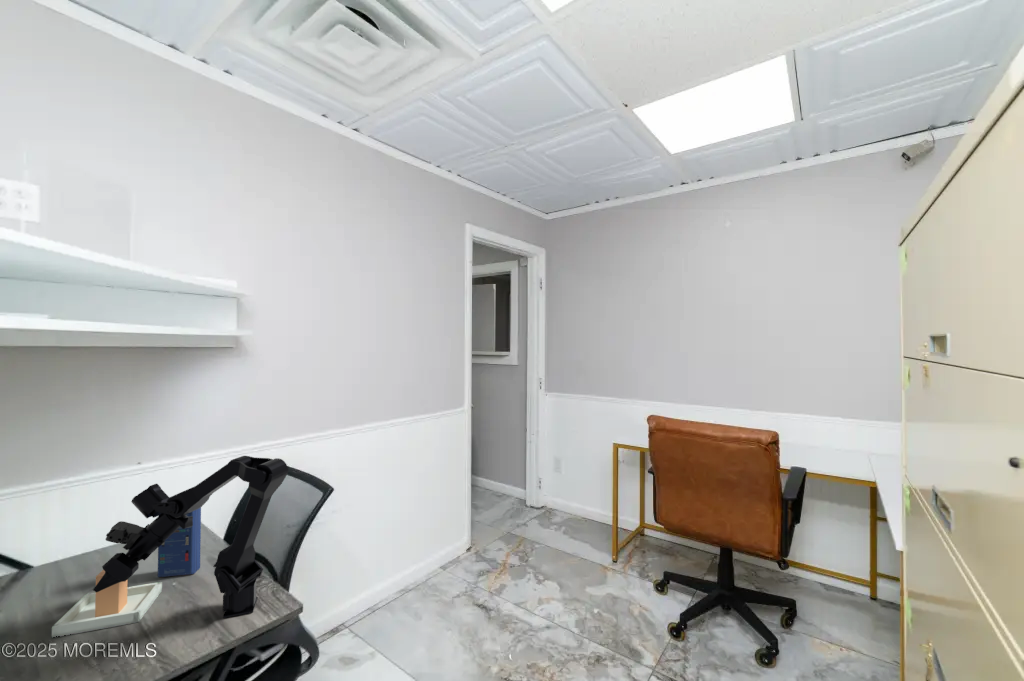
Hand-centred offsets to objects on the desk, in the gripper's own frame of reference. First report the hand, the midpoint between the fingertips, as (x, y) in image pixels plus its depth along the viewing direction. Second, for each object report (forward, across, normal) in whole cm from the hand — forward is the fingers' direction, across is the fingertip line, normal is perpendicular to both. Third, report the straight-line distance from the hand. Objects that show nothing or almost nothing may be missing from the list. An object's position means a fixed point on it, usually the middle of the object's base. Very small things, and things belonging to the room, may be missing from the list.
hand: (105, 580), depth 107 cm
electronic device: (-1, -16, +13) cm, 21 cm away
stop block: (+4, 0, +6) cm, 8 cm away
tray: (+5, 0, +7) cm, 8 cm away
